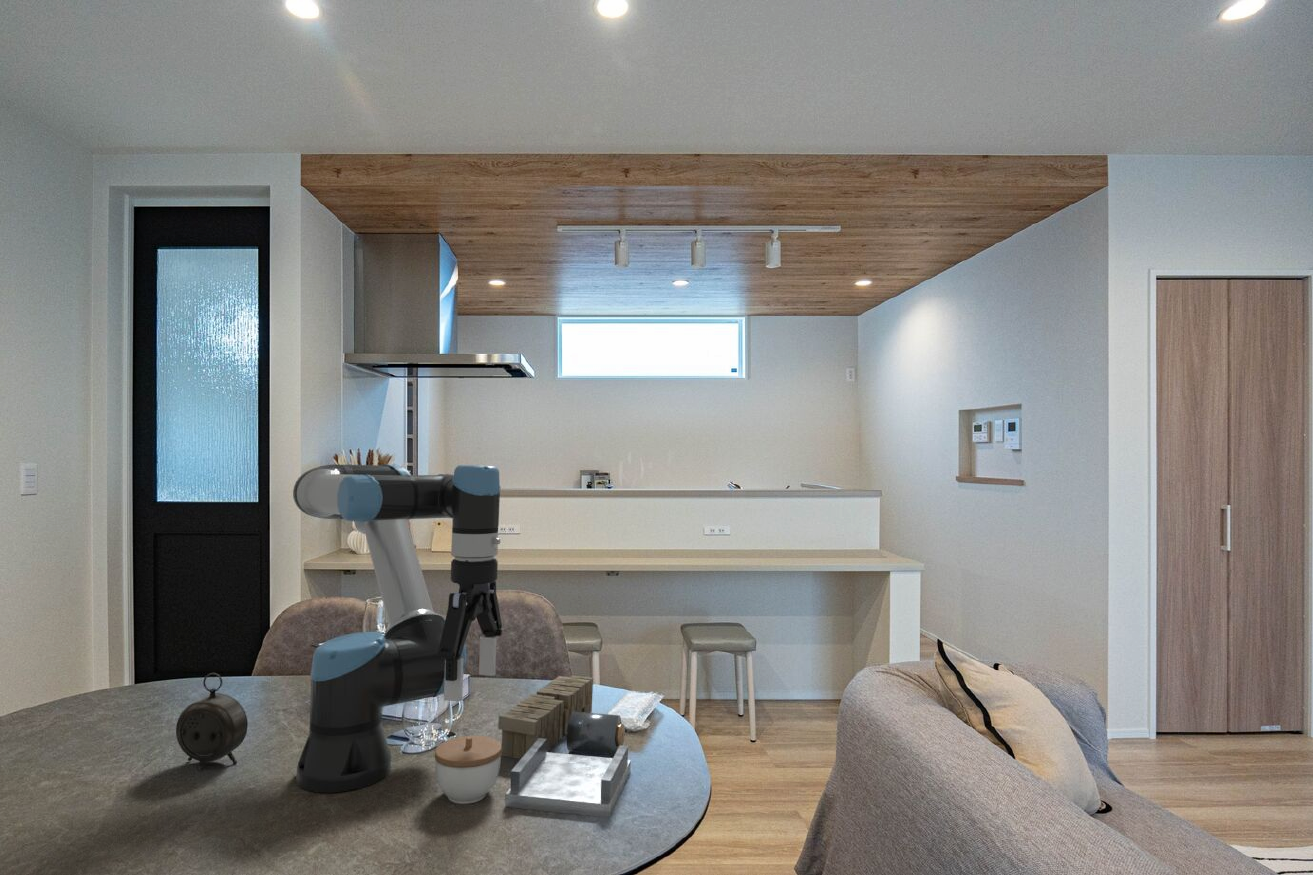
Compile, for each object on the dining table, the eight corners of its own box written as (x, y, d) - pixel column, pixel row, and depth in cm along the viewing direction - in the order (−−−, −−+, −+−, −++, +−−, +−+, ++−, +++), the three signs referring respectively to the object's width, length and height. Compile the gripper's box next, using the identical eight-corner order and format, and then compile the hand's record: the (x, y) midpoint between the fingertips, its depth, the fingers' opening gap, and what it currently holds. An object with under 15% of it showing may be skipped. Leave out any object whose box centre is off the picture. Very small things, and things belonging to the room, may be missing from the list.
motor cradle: (505, 806, 115) (506, 762, 115) (556, 740, 142) (557, 704, 142) (608, 817, 112) (610, 772, 112) (641, 748, 139) (641, 711, 140)
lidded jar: (483, 814, 112) (485, 753, 113) (420, 806, 114) (422, 746, 115) (510, 784, 123) (512, 728, 123) (452, 777, 125) (454, 722, 125)
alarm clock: (247, 760, 130) (251, 669, 130) (227, 773, 124) (231, 678, 125) (190, 757, 131) (194, 667, 131) (168, 770, 125) (172, 675, 126)
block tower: (560, 712, 161) (494, 759, 133) (561, 673, 162) (496, 712, 134) (593, 716, 159) (533, 765, 131) (594, 677, 159) (535, 717, 132)
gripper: (464, 569, 107) (460, 714, 106) (522, 549, 131) (519, 666, 131) (417, 567, 108) (412, 710, 107) (483, 548, 133) (479, 664, 132)
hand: (471, 686), depth 119 cm, fingers open, 13 cm apart
